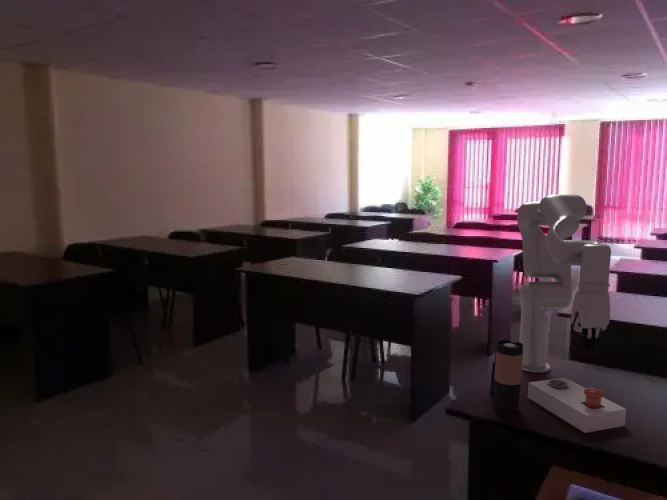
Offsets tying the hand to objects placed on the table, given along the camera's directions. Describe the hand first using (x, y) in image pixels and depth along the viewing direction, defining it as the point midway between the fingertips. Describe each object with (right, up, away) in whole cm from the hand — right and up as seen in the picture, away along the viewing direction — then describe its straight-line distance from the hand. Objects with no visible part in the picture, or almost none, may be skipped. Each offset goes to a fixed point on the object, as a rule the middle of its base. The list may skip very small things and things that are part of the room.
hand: (588, 350), depth 155 cm
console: (-1, -19, +7) cm, 21 cm away
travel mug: (-21, -19, +9) cm, 30 cm away
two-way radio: (-20, -17, +19) cm, 33 cm away
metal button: (-3, -17, +13) cm, 22 cm away
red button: (+1, -16, 0) cm, 16 cm away
